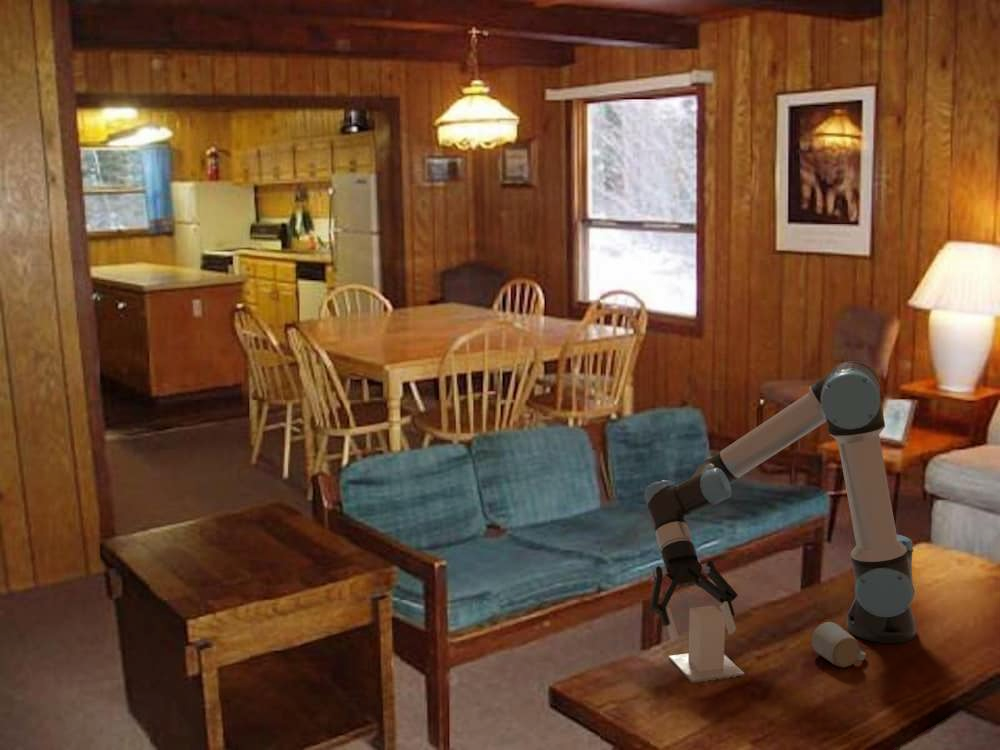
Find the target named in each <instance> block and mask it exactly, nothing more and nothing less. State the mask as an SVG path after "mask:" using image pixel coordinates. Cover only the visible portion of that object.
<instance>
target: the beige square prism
mask: <svg viewBox="0 0 1000 750" xmlns="http://www.w3.org/2000/svg"><path fill="white" fill-rule="evenodd" d="M688 615H689V617H688V618H689V619H688V621H689V624H688V625H689V626H688V653H689V656H688V660H689V661H690V662H691V663H692V664H693V665H694V666H695V667H696V668H697V669H698V670H699V671H707V670H715V669H722V668H724V655H725V639H726V638H725V636H726V635H725V633H726V632H725V631H726V624H725V615H724V614H723V613H722V611H721V610H720V609H718V607H716V606H715V605H706V606H699V607H697V606H696V607H690V608H689V614H688Z"/></svg>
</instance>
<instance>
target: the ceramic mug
mask: <svg viewBox="0 0 1000 750" xmlns="http://www.w3.org/2000/svg"><path fill="white" fill-rule="evenodd" d="M811 646H812V649H813V651H815V652H816V654H818V655H820V656H821V657H823V658H824V659H826V660H827V661H829V662H830V663H831V664H832V665H834V666H836V667H839V668H847V667H851V666H853V664H855V663H856V661H857V660H858V661H864V660H865V658H866V655H867V654H866V653H865V651H863V650H861V648H860V643H859V642H858V641H857V639H856V638H855V637H854V636H853V635H852V634H851V633H850V632H847V631H846V630H845V629H844V628H842V627H841V626H840V625H839V624H837V623H836V622H832V621H826V622H824V623H821V624H820V625H818V626H817V628H815V629H814V632H813V634H812V637H811Z"/></svg>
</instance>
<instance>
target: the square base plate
mask: <svg viewBox="0 0 1000 750" xmlns="http://www.w3.org/2000/svg"><path fill="white" fill-rule="evenodd" d="M688 656H689V652H687V653H681V654H674V655H668V659H669V660H670V662H672V664H673V665H675V666H676V667H677V669H678V670H679V671H680V672H681V673H682V674H683V675H684V676H685V677H686V678H687V680H688V681H690V683H692V684H695V683H702V682H703V681H704V682H709V681H708V680H711V681H717V680H716V679H718V680H724V678H726V679H731V678H730V677H733V678H737V677H736V676H740V677H744V676H745V672H744V671H743V670H741V669H740V667H738V666H737V665H736V664H735V663H734V662H733V661H732V660H731V659H730V658H729V657H728V656H727V655H725V654H724V668H722V669H715V670H707V671H699V670H698V669H697V668H696V667H695V666H694V665H693V664H692V663H691V662H690V661H689V660H688Z"/></svg>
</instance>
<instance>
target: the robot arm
mask: <svg viewBox="0 0 1000 750" xmlns="http://www.w3.org/2000/svg"><path fill="white" fill-rule="evenodd" d="M880 386H881V383H880V380H879V377H878V375H877V373H876V372H875V371H874V370H873V369H872V367H870V366H868V365H867V364H865V363H862V362H860V361H853V360H852V361H851V360H850V361H845V362H841V363H839V364H837V365H836V366H834V367H833V368H831V370H829V371H828V372H827V373H826V374H825V375H824V376H823V377H821V378H820V379H818V380H817V381H816V382H814V383H813V384H811V385H810V386H809V390H808V393H806V394H804V395H803V396H801V397H800V398H799V399H797V400H796V401H794V402H793V403H791V404H790V405H788V406H786V407H785V408H783V409H782V410H780V411H779V412H778V413H775V415H773V416H772V417H770V418H769V419H767V420H764V421H763V422H762V423H760V424H759V425H758V426H757V427H755V428H753V429H752V430H750V431H749V432H748V433H746V434H744V435H743V436H742V437H740V438H738V439H737V440H735V441H734V442H733V443H731V444H730V445H728V446H726V447H725V448H723V449H722V450H721V451H719V452H717V453H716V454H714V455H713V456H709V457H707V458H705V459H704V460H703V461H701V462H700V463H699V466H697V469H696V471H695V472H694V474H693V475H692V477H691V478H688V479H686V480H685V481H683V482H680V483H678V484H675V483H674V482H673V481H671V480H665V479H663V480H660V481H655V482H653V483H651V484H649V485H648V486H647V487H646V488H645V490H644V498H645V504H646V509H647V511H648V514H649V517H650V520H651V522H652V523H651V524H652V527H653V530H654V534H655V536H656V537H655V538H656V539H657V540H656V541H657V543H658V547H659V549H660V550H661V551H660V554H661V558H662V560H663V563H664V564H663V565H664V566H665V567H664V568H663V567H661V565H660V566H659V565H658V566H656V568H655V569H654V571H652V573H653V575H652V576H653V586H652V590H651V595H650V602H649V606H648V610H649V611H650V612H656V614H657V615H659V618H660V621H661V624H662V626H663V627H666V629H667V633H668V635H669V639H670V641H671V643H673V642H676V640H677V639H678V638H679V634H678V632H677V631H678V630H677V627H676V624H675V621H674V617H673V613H672V610H671V607H668V608H667V606H668V604H669V602H670V600H671V598H672V596H673V594H674V592H675V589H676V588H677V586H679V587H682V588H683V587H686V586H687V587H688V586H697V587H698V588H699V587H700V588H702V589H703V590H704V591H705V592H706V593H707V594H709V595H710V596H712V597H713V598H714V599H715V600H717V601H719V603H721V605H720V606H719V607H720V611H721V612H722V613H723V614H724V615H725V628H726V629H727V633H728V635H733V634H734V632H736V631H737V627H736V625H735V620H734V617H735V616H736V615H735V609H734V607H733V605H732V603H733V602H734V601H735V600H736V599H737V597H738V593H737V592H736V591H735V590H734V589H733V587H732V586H731V585H730V584H729V583H728V582H727V581H726V579H725V578H724V577H723V576H722V575H721V574H720V572H719V571H718V570H717V568H716V567H715V565H714V563H713V561H711V560H708V561H707V562H705V563H703V564H701V562H699V560H698V554H697V552H696V549H695V545H694V543H693V542H692V540H693V538H692V536H691V532H690V529H689V527H688V523H687V520H686V518H687V517H688V516H691V515H693V514H696V513H698V512H700V511H702V510H705V509H707V508H709V507H711V506H715V505H717V504H721V503H722V502H723V501H725V500H727V499H729V498H730V497H731V496H732V487H731V484H733V482H735V481H736V480H738V479H739V478H740V477H742V476H743V475H745V474H747V473H748V472H750V471H751V470H753V469H755V468H756V467H758V466H759V465H761V464H762V463H764V462H765V461H767V460H768V459H770V458H772V457H773V456H775V455H776V454H778V453H779V452H781V451H782V450H783V449H785V448H787V447H789V446H791V444H793V443H795V442H797V441H798V440H800V439H801V438H802V437H804V436H806V435H807V434H809V433H810V432H812V431H814V430H816V429H817V428H818V427H820V426H821V425H823V424H825V423H826V426H827V430H828V435H829V436H830V437H832V438H834V439H835V440H836V441H837V444H838V445H837V446H838V450H839V455H840V461H841V467H842V472H843V477H844V483H845V489H846V494H847V499H848V506H849V511H850V518H851V523H852V529H853V535H854V539H855V544H856V545H855V547H854V548H853V549H852V550H851V552H850V559H851V563H852V564H851V565H852V569H853V575H854V580H855V584H854V594H855V597H854V599H853V601H852V603H851V605H850V608H849V611H848V613H847V614H846V629H847V630H848V632H849V633H850V634H851V635H854V636H856V637H858V638H859V639H860V638H861V639H862V640H866V641H870V642H874V643H881V644H901V643H906V642H907V643H908V642H910V641H912V640H913V639H915V638H916V637H915V636H916V630H917V629H916V628H917V627H916V621H915V618H914V614H913V610H912V606H911V604H912V602H913V598H914V596H915V588H914V582H913V581H914V580H913V568H912V566H913V565H912V564H913V552H914V549H913V547H914V546H913V541H912V539H911V538H910V537H907V536H904V535H901V534H897V529H896V524H895V519H894V517H895V516H894V512H893V507H892V500H891V496H890V489H889V483H888V477H887V472H886V466H885V461H884V455H883V449H882V443H881V438H880V434H881V433H882V431H883V430H884V429H885V427H886V423H885V417H884V412H883V411H884V409H883V404H882V400H881V399H882V398H881V387H880ZM702 571H703V572H704V573H702ZM706 575H707V576H708V578H709V579H710V580H711V581H710V580H709V579H708V578H707V576H706ZM665 576H667V577H668V578H669V579H670V582H669V583H670V584H669V585H668V588H667V589H666V591H665V593H664V595H663V597H662V599H661V602H660V603H659V600H660V599H659V598H660V595H661V588H662V584H663V579H664V577H665Z"/></svg>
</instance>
